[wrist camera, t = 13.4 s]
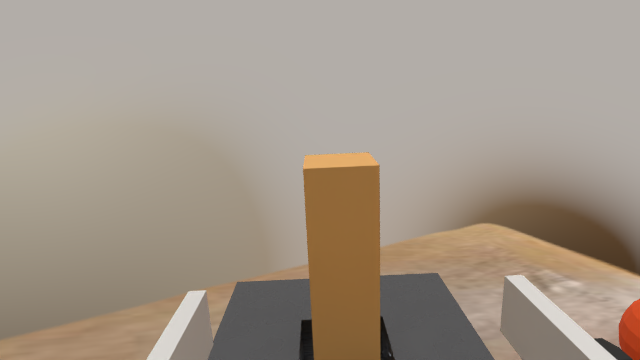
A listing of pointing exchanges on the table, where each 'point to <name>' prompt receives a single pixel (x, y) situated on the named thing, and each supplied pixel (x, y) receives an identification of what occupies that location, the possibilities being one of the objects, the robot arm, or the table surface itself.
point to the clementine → (630, 331)
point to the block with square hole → (395, 322)
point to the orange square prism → (343, 254)
